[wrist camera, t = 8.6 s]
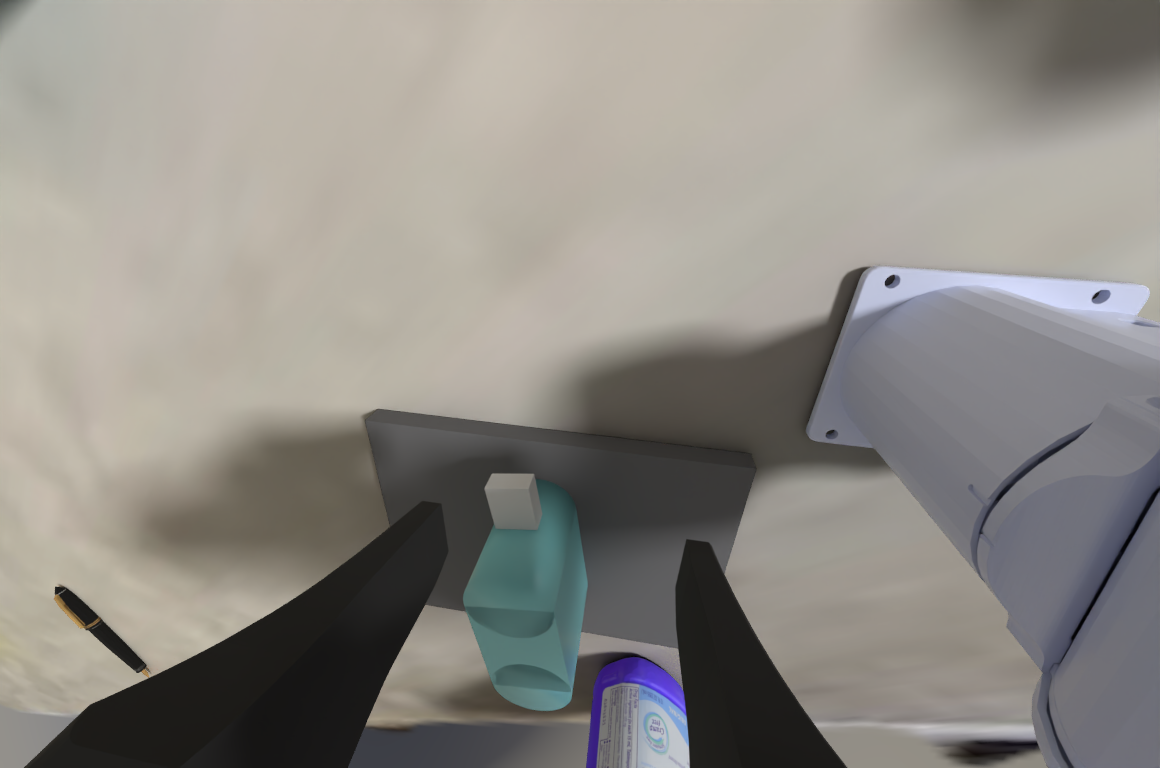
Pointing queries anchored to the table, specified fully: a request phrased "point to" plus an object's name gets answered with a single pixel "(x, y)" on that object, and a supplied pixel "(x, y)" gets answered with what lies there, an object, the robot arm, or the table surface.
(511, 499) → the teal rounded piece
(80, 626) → the fountain pen
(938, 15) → the table surface
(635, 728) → the bottle
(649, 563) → the rubber mat
